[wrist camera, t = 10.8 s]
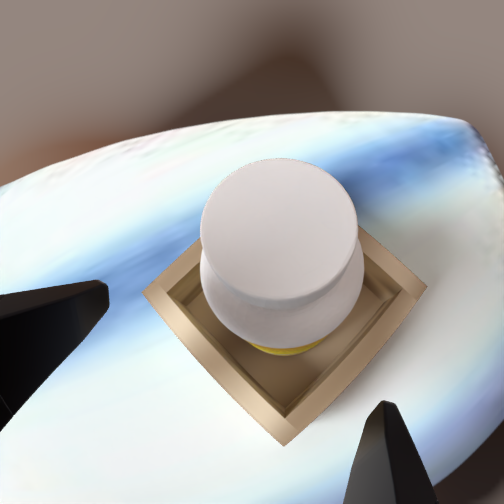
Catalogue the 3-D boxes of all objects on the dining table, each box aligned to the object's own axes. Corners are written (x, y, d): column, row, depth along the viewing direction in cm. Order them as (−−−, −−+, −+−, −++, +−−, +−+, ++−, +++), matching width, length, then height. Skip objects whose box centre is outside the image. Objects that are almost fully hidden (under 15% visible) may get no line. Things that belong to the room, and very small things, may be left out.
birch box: (401, 302, 20) (427, 286, 16) (284, 429, 18) (283, 446, 13) (283, 200, 24) (281, 166, 20) (168, 307, 22) (141, 292, 18)
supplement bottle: (352, 314, 20) (433, 237, 8) (276, 376, 19) (257, 393, 7) (291, 245, 22) (290, 110, 10) (218, 300, 21) (134, 211, 9)
